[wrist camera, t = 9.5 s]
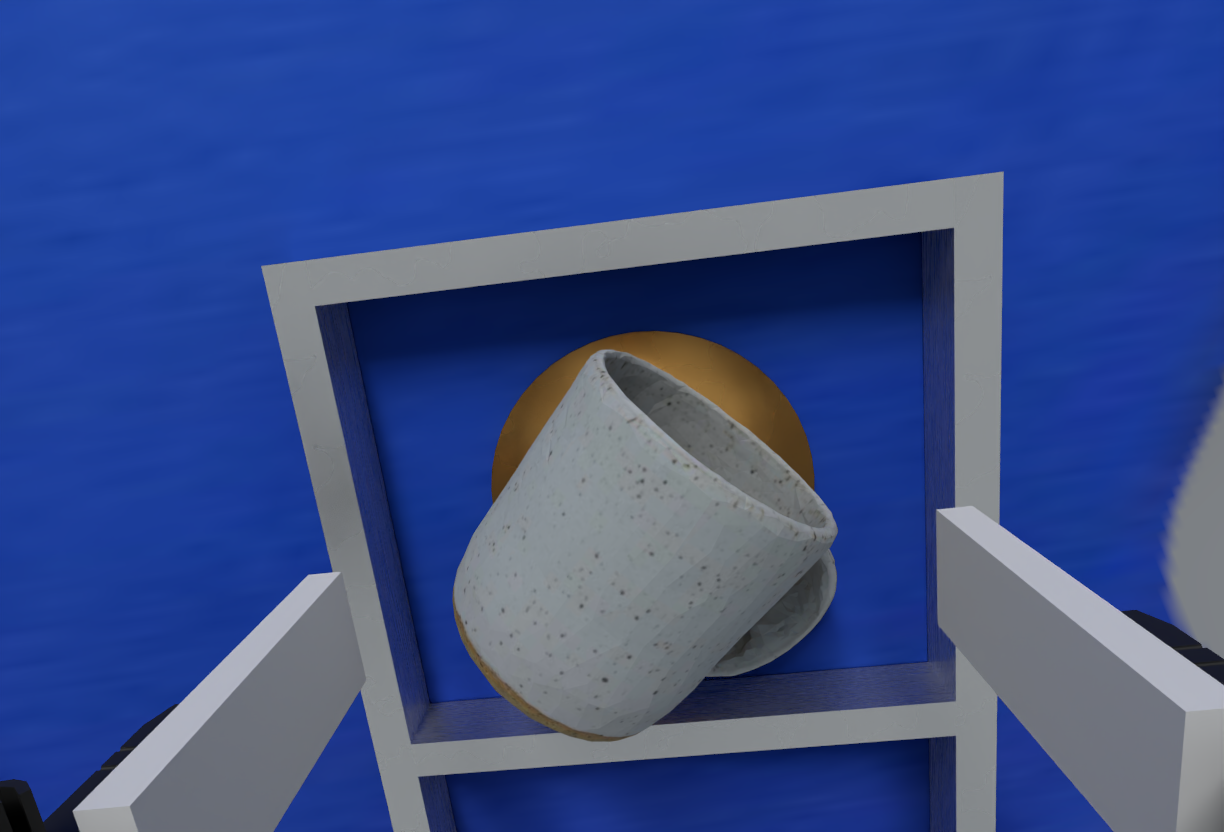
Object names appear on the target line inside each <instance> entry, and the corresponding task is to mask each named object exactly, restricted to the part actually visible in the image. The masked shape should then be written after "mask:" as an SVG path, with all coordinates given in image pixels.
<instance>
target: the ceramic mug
mask: <svg viewBox="0 0 1224 832" xmlns="http://www.w3.org/2000/svg"><path fill="white" fill-rule="evenodd" d="M837 533H838V528H837V525H836V523H835V521H834V518H833V516H832V513H831V511H830V510H829V509H828V508H827V506H826V505H825V504H824V502H823V501H822V500H821V499H820V497H819V496H818V495H817V494H816V493H815V492H814V491H813V490H812V489H811V488H810V486H809V485H808V484H807V483H806V482H805V481H804V480H803V479H802V478H801V477H800V475H799V474H798V473H796V472H795V471H794V470H793V469H792V468H791V467H790V466H789V465H788V464H787V463H786V462H785V461H784V460H783V459H782V458H781V457H780V456H779V455H777V454H776V453H775V452H774V451H772V450H771V449H770V448H769V447H768V446H767V445H766V444H765V443H764V442H763V441H761V440H760V439H759V438H758V437H757V436H756V435H754V434H753V433H752V432H751V431H750V430H749V429H747V428H746V427H744V426H743V425H741V424H740V423H738V422H737V421H736V420H734V419H733V418H732V417H730V416H729V415H728V414H726V413H725V412H724V411H723V410H722V409H721V408H720V407H718V406H717V405H716V404H714V403H713V402H711V401H710V400H708V399H707V398H705V397H704V396H702V395H701V394H699V393H698V392H696V391H695V390H693V389H692V388H690V387H689V386H688V385H686V384H685V383H684V382H682V381H680V380H678V379H676V378H674V377H673V376H672V375H671V374H669V373H667V372H665V371H663V370H661V369H659V368H657V367H655V366H654V365H652V364H650V363H648V362H647V361H645V360H642V359H640V358H637V357H635V356H633V355H631V354H629V353H627V352H619V351H615V350H610V349H607V350H600V351H598V352H596V353H595V354H593V355H592V356H590V358H589V359H588V361H587V362H586V363H585V365H584V366H583V368H582V369H581V371H580V372H579V374H578V375H577V377H576V379H575V380H574V382H573V384H572V386H571V387H570V389H569V390H568V392H567V393H566V395H565V396H564V398H563V399H562V401H561V402H560V404H559V405H558V406H557V408H556V409H555V411H554V412H553V414H552V415H551V417H550V418H549V420H548V421H547V423H546V424H545V426H544V427H543V429H542V430H541V432H540V433H539V435H538V437H537V438H536V440H535V441H534V443H533V444H532V446H531V447H530V449H529V450H528V452H527V453H526V455H525V457H524V458H523V460H522V461H521V463H520V465H519V466H518V468H517V470H516V471H515V473H514V474H513V476H512V477H511V479H510V480H509V482H508V483H507V485H506V486H505V488H504V489H503V491H502V492H501V494H500V495H499V497H498V498H497V500H496V501H495V502H494V504H493V505H492V507H491V508H490V510H489V511H488V513H487V514H486V516H485V517H484V519H483V520H482V522H481V523H480V525H479V526H478V528H477V529H476V531H475V532H474V534H473V536H472V538H471V541H470V543H469V545H468V548H467V550H466V552H465V555H464V557H463V559H462V561H461V563H460V565H459V567H458V570H457V574H456V579H455V583H454V587H453V607H454V615H455V621H456V624H457V627H458V630H459V633H460V636H461V639H462V641H463V643H464V645H465V647H466V649H467V651H468V653H469V655H470V657H471V658H472V660H473V661H474V662H475V664H476V665H477V666H478V668H479V669H480V670H481V672H482V673H483V674H484V676H485V677H486V678H487V680H488V681H489V682H490V684H491V685H492V686H493V688H494V689H495V690H496V691H497V692H498V693H499V694H500V695H501V696H503V697H504V698H505V699H506V700H507V701H509V702H510V703H511V704H512V705H513V706H515V707H516V708H517V709H519V710H520V711H521V712H523V713H524V714H525V715H527V716H528V717H529V718H531V719H533V720H535V721H537V722H539V723H541V724H543V725H545V726H547V727H549V728H551V729H553V730H555V731H557V732H560V733H562V734H565V735H567V736H570V737H574V738H578V739H582V740H586V741H591V742H612V741H618V740H622V739H625V738H628V737H631V736H634V735H636V734H638V733H640V732H641V731H643V730H645V729H646V728H648V727H650V726H651V725H652V724H654V723H655V722H657V721H658V720H659V719H661V718H662V717H664V716H665V715H666V714H668V713H669V712H671V711H672V710H673V709H674V708H675V707H676V706H677V705H678V704H679V703H680V702H681V701H682V700H683V699H684V698H686V697H687V696H688V695H689V694H690V693H691V692H692V691H693V690H694V689H695V688H696V687H697V686H698V684H699V683H700V682H701V681H702V680H703V679H704V678H705V676H706V677H717V676H735V675H738V674H741V673H744V672H748V671H751V670H754V669H756V668H758V667H760V666H763V665H765V664H767V663H769V662H771V661H773V660H774V659H776V658H777V657H779V656H781V655H782V654H784V653H785V652H787V651H788V650H790V649H791V648H792V647H793V646H794V645H796V644H797V643H798V642H799V641H801V640H802V639H803V638H804V637H805V636H806V635H807V634H808V633H809V632H810V631H811V630H812V629H813V628H814V627H815V626H816V625H817V623H818V622H819V621H820V620H821V618H822V617H823V615H824V614H825V612H826V611H827V609H828V607H829V605H830V604H831V601H832V599H833V597H834V594H835V591H836V582H837V572H836V568H835V560H834V558H833V556H832V554H831V551H830V549H829V548H830V547H831V545H832V543H833V541H834V539H835V537H836V535H837Z"/></svg>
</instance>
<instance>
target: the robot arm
mask: <svg viewBox="0 0 1224 832" xmlns="http://www.w3.org/2000/svg"><path fill="white" fill-rule="evenodd" d="M936 538H937V618H938V626H939V627H940V628H941V629H942V630H943V632H944V633H945V634H946V635H947V636H948V637H949V639H950V640H951V641H952V642H953V643H954V644H955V646H956V647H957V648H958V649H959V650H960V652H961V653H962V654H963V655H964V656H965V657H966V659H967V660H968V661H969V662H970V663H971V664H972V666H973V667H974V668H975V669H976V670H977V671H978V673H979V674H980V675H981V676H982V677H983V679H984V680H985V681H986V682H987V683H988V684H989V686H990V687H991V688H992V689H993V690H994V691H995V693H996V694H997V695H998V696H999V697H1000V698H1001V700H1002V701H1003V702H1004V703H1005V704H1006V706H1007V707H1008V708H1009V709H1010V710H1011V711H1012V713H1013V714H1014V715H1015V716H1016V717H1017V718H1018V720H1019V721H1020V722H1021V723H1022V724H1023V726H1024V727H1025V728H1026V729H1027V730H1028V731H1029V733H1030V734H1031V735H1032V736H1033V737H1034V738H1035V740H1036V741H1037V742H1038V743H1039V744H1040V745H1041V747H1042V748H1043V749H1044V750H1045V751H1046V753H1047V754H1048V755H1049V756H1050V757H1051V758H1052V760H1053V761H1054V762H1055V763H1056V764H1057V765H1058V767H1059V768H1060V769H1061V770H1062V771H1063V772H1064V774H1065V775H1066V776H1067V777H1068V778H1069V780H1070V781H1071V782H1072V783H1073V784H1074V785H1075V787H1076V788H1077V789H1078V790H1079V791H1080V792H1081V794H1082V795H1083V796H1084V797H1085V798H1086V799H1087V801H1088V802H1089V803H1090V804H1091V805H1092V807H1093V808H1094V809H1095V810H1096V811H1097V812H1098V814H1099V815H1100V816H1101V817H1102V818H1103V819H1104V821H1105V822H1106V823H1107V824H1108V825H1109V826H1110V828H1111V829H1112V830H1113V831H1114V832H1224V659H1223V658H1221V657H1220V656H1218V655H1217V654H1215V653H1214V652H1212V651H1211V650H1209V649H1208V648H1202V646H1201V644H1200V643H1199V642H1197V641H1196V640H1194V639H1193V638H1191V637H1190V636H1188V635H1187V634H1186V633H1184V632H1183V631H1181V630H1180V629H1178V628H1177V627H1175V626H1174V625H1172V624H1169V623H1167V622H1164V621H1162V620H1159V619H1157V618H1154V617H1152V616H1150V615H1147V614H1145V613H1142V612H1140V611H1137V610H1130V611H1119V610H1118V609H1116V608H1115V607H1113V606H1112V605H1111V604H1109V603H1108V602H1106V601H1105V600H1104V599H1102V598H1101V597H1099V596H1098V595H1097V594H1095V593H1094V592H1092V591H1091V590H1090V589H1088V588H1087V587H1085V586H1084V585H1083V584H1081V583H1080V582H1078V581H1077V580H1076V579H1074V578H1073V577H1071V576H1070V575H1069V574H1067V573H1066V572H1064V571H1063V570H1062V569H1060V568H1059V567H1057V566H1056V565H1055V564H1053V563H1052V562H1050V561H1049V560H1048V559H1046V558H1045V557H1043V556H1042V555H1041V554H1039V553H1038V552H1036V551H1035V550H1034V549H1032V548H1031V547H1029V546H1028V545H1027V544H1025V543H1024V542H1022V541H1021V540H1020V539H1018V538H1017V537H1015V536H1014V535H1013V534H1011V533H1010V532H1008V531H1007V530H1006V529H1004V528H1003V527H1001V526H1000V525H999V524H997V523H996V522H994V521H993V520H992V519H990V518H989V517H987V516H986V515H985V514H983V513H982V512H980V511H979V510H978V509H976V508H975V507H973V506H965V507H956V508H946V509H937V510H936ZM365 681H366V676H365V671H364V667H363V663H362V658H361V654H360V650H359V645H358V641H357V637H356V632H355V628H354V623H353V619H352V615H351V610H350V606H349V602H348V597H347V593H346V588H345V584H344V580H343V575H342V572H333V573H323V574H313V575H308V576H307V577H306V578H305V579H304V580H303V581H302V582H301V583H300V584H299V585H298V586H297V587H296V588H295V589H294V590H293V591H292V592H291V593H290V594H289V595H288V596H287V597H286V598H285V599H284V600H283V601H282V602H281V603H280V604H279V605H278V606H277V607H276V608H275V609H274V610H273V611H272V612H271V613H270V614H269V615H268V616H267V617H266V618H265V619H264V620H263V621H262V622H261V623H260V624H259V625H258V626H257V627H256V628H255V629H254V630H253V631H252V632H251V633H250V634H249V635H248V636H247V637H246V638H245V639H244V640H243V641H242V642H241V643H240V644H239V645H238V646H237V647H236V648H235V649H234V650H233V651H232V652H231V653H230V654H229V655H228V656H227V657H226V658H225V659H224V660H223V661H222V662H221V663H220V664H219V665H218V666H217V667H216V668H215V669H214V670H213V671H212V672H211V673H210V674H209V675H208V676H207V677H206V678H205V679H204V680H203V681H202V682H201V683H200V684H199V685H198V686H197V687H196V688H195V689H194V690H193V691H192V692H191V693H190V694H189V695H188V696H187V697H186V698H185V699H184V700H183V701H182V702H181V703H180V704H175V705H173V706H172V707H170V708H169V709H167V710H166V711H164V712H163V713H161V714H160V715H158V716H157V717H155V718H154V719H152V720H151V721H149V722H147V723H146V724H144V725H143V726H142V727H141V728H140V729H139V730H138V731H137V732H136V733H135V734H134V735H133V736H132V737H131V738H130V739H129V740H128V741H127V742H126V743H125V744H124V745H123V746H122V747H121V750H120V752H115V753H114V754H113V755H112V756H111V757H110V758H109V759H108V760H107V761H106V762H105V763H104V764H103V765H102V766H101V770H100V771H96V772H95V773H94V774H93V775H92V776H91V777H90V778H89V779H88V780H87V781H85V782H84V783H83V784H82V785H81V786H80V787H79V788H78V789H77V790H76V791H75V792H74V793H73V794H72V795H71V796H70V797H69V798H68V799H67V800H66V801H65V802H64V803H63V804H62V805H61V806H60V807H59V808H58V809H57V810H56V811H55V812H54V813H52V814H51V815H50V816H49V817H48V818H47V819H46V820H45V821H44V822H43V821H42V818H41V816H40V813H39V810H38V808H37V805H36V802H35V800H34V797H33V794H32V791H31V789H30V787H29V785H28V783H27V782H26V781H21V780H15V779H12V780H6V781H0V832H273V831H274V830H275V828H276V826H277V825H278V823H279V821H280V820H281V818H282V817H283V815H284V813H285V812H286V810H287V808H288V807H289V805H290V804H291V802H292V800H293V799H294V797H295V795H296V794H297V792H298V790H299V789H300V787H301V786H302V784H303V782H304V781H305V779H306V777H307V776H308V774H309V773H310V771H311V769H312V768H313V766H314V764H315V763H316V761H317V760H318V758H319V756H320V755H321V753H322V751H323V750H324V748H325V746H326V745H327V743H328V742H329V740H330V738H331V737H332V735H333V733H334V732H335V730H336V729H337V727H338V725H339V724H340V722H341V720H342V719H343V717H344V716H345V714H346V712H347V711H348V709H349V707H350V706H351V704H352V702H353V701H354V699H355V698H356V696H357V694H358V693H359V691H360V689H361V688H362V686H363V685H364V683H365Z"/></svg>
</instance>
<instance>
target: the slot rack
mask: <svg viewBox="0 0 1224 832" xmlns="http://www.w3.org/2000/svg"><path fill="white" fill-rule="evenodd" d="M914 232H922V283H923V352H924V421H925V490H926V559H927V628H928V662H923V663H911V664H899V665H887V666H875V667H863V668H851V669H839V670H827V671H815V672H803V673H791V674H779V675H767V676H755V677H743V678H731V679H719V680H707V681H701V682H700V683H699V684H698V686H697V687H696V688H695V689H694V690H693V691H692V692H691V693H690V694H689V695H688V696H687V697H686V698H684V699H683V700H682V701H681V702H680V703H679V704H678V705H677V706H676V707H675V708H674V709H673V710H672V711H671V712H669V713H668V714H666V715H665V716H664V717H662V718H661V719H659V720H658V721H657V722H655V723H654V724H652V725H651V726H650V727H648V728H646V729H645V730H643V731H641V732H640V733H638V734H636V735H634V736H631V737H628V738H625V739H622V740H618V741H612V742H591V741H586V740H582V739H578V738H574V737H570V736H567V735H565V734H562V733H560V732H557V731H555V730H553V729H551V728H549V727H547V726H545V725H543V724H541V723H539V722H537V721H535V720H533V719H531V718H529V717H528V716H527V715H525V714H524V713H523V712H521V711H520V710H519V709H517V708H516V707H515V706H513V705H512V704H511V703H510V702H509V701H507V700H506V699H505V698H504V697H502V698H490V699H478V700H466V701H454V702H442V703H430V702H429V697H428V692H427V687H426V683H425V678H424V673H423V668H422V663H421V659H420V654H419V649H418V644H417V639H416V635H415V630H414V625H413V620H412V615H411V611H410V606H409V601H408V596H407V592H406V587H405V582H404V577H403V572H402V568H401V563H400V558H399V553H398V548H397V544H396V539H395V534H394V529H393V524H392V520H391V515H390V510H389V505H388V500H387V496H386V491H385V486H384V481H383V477H382V472H381V467H380V462H379V457H378V453H377V448H376V443H375V438H374V433H373V429H372V424H371V419H370V414H369V409H368V405H367V400H366V395H365V390H364V386H363V381H362V376H361V371H360V366H359V362H358V357H357V352H356V347H355V342H354V338H353V333H352V328H351V323H350V318H349V314H348V309H347V304H346V302H352V301H360V300H368V299H377V298H385V297H393V296H401V295H409V294H417V293H425V292H434V291H442V290H450V289H458V288H466V287H474V286H482V285H491V284H499V283H507V282H515V281H523V280H531V279H540V278H548V277H556V276H564V275H572V274H580V273H588V272H597V271H605V270H613V269H621V268H629V267H637V266H645V265H654V264H662V263H670V262H678V261H686V260H694V259H702V258H711V257H719V256H727V255H735V254H743V253H751V252H760V251H768V250H776V249H784V248H792V247H800V246H808V245H817V244H825V243H833V242H841V241H849V240H857V239H865V238H874V237H882V236H890V235H898V234H906V233H914ZM1002 248H1003V172H997V173H990V174H982V175H974V176H966V177H958V178H950V179H942V180H935V181H927V182H919V183H911V184H903V185H895V186H887V187H880V188H872V189H864V190H856V191H848V192H840V193H832V194H825V195H817V196H809V197H801V198H793V199H785V200H777V201H770V202H762V203H754V204H746V205H738V206H730V207H722V208H715V209H707V210H699V211H691V212H683V213H675V214H667V215H660V216H652V217H644V218H636V219H628V220H620V221H612V222H605V223H597V224H589V225H581V226H573V227H565V228H557V229H550V230H542V231H534V232H526V233H518V234H510V235H502V236H495V237H487V238H479V239H471V240H463V241H455V242H447V243H440V244H432V245H424V246H416V247H408V248H400V249H392V250H385V251H377V252H369V253H361V254H353V255H345V256H337V257H330V258H322V259H314V260H306V261H298V262H290V263H282V264H275V265H267V266H261V267H262V272H263V276H264V280H265V284H266V289H267V293H268V297H269V301H270V306H271V310H272V314H273V318H274V323H275V327H276V331H277V336H278V340H279V344H280V348H281V353H282V357H283V361H284V365H285V370H286V374H287V378H288V382H289V387H290V391H291V395H292V399H293V404H294V408H295V412H296V417H297V421H298V425H299V429H300V434H301V438H302V442H303V446H304V451H305V455H306V459H307V463H308V468H309V472H310V476H311V481H312V485H313V489H314V493H315V498H316V502H317V506H318V510H319V515H320V519H321V523H322V527H323V532H324V536H325V540H326V544H327V549H328V553H329V557H330V562H331V566H332V570H333V572H342V575H343V580H344V584H345V588H346V593H347V597H348V602H349V606H350V610H351V615H352V619H353V623H354V628H355V632H356V637H357V641H358V645H359V650H360V654H361V658H362V663H363V667H364V671H365V676H366V681H365V683H364V685H363V686H362V688H361V694H362V698H363V702H364V707H365V711H366V715H367V719H368V724H369V728H370V732H371V736H372V741H373V745H374V749H375V753H376V758H377V762H378V766H379V771H380V775H381V779H382V783H383V788H384V792H385V796H386V800H387V805H388V809H389V813H390V817H391V822H392V826H393V830H394V832H457V831H456V826H455V821H454V817H453V812H452V807H451V802H450V797H449V793H448V788H447V783H446V778H445V775H446V774H459V773H472V772H485V771H499V770H512V769H525V768H538V767H551V766H564V765H577V764H591V763H604V762H617V761H630V760H643V759H656V758H669V757H682V756H696V755H709V754H722V753H735V752H748V751H761V750H774V749H788V748H801V747H814V746H827V745H840V744H853V743H866V742H880V741H893V740H906V739H919V738H929V766H930V832H995V825H996V742H997V694H996V693H995V691H994V690H993V689H992V688H991V687H990V686H989V684H988V683H987V682H986V681H985V680H984V679H983V677H982V676H981V675H980V674H979V673H978V671H977V670H976V669H975V668H974V667H973V666H972V664H971V663H970V662H969V661H968V660H967V659H966V657H965V656H964V655H963V654H962V653H961V652H960V650H959V649H958V648H957V647H956V646H955V644H954V643H953V642H952V641H951V640H950V639H949V637H948V636H947V635H946V634H945V633H944V632H943V630H942V629H941V628H940V627H939V626H938V618H937V538H936V510H937V509H946V508H956V507H965V506H973V507H975V508H976V509H978V510H979V511H980V512H982V513H983V514H985V515H986V516H987V517H989V518H990V519H992V520H993V521H994V522H996V523H997V524H999V495H1000V413H1001V330H1002ZM607 349H610V350H615V351H619V352H627V353H629V354H631V355H633V356H635V357H637V358H640V359H642V360H645V361H647V362H648V363H650V364H652V365H654V366H655V367H657V368H659V369H661V370H663V371H665V372H667V373H669V374H671V375H672V376H673V377H674V378H676V379H678V380H680V381H682V382H684V383H685V384H686V385H688V386H689V387H690V388H692V389H693V390H695V391H696V392H698V393H699V394H701V395H702V396H704V397H705V398H707V399H708V400H710V401H711V402H713V403H714V404H716V405H717V406H718V407H720V408H721V409H722V410H723V411H724V412H725V413H726V414H728V415H729V416H730V417H732V418H733V419H734V420H736V421H737V422H738V423H740V424H741V425H743V426H744V427H746V428H747V429H749V430H750V431H751V432H752V433H753V434H754V435H756V436H757V437H758V438H759V439H760V440H761V441H763V442H764V443H765V444H766V445H767V446H768V447H769V448H770V449H771V450H772V451H774V452H775V453H776V454H777V455H779V456H780V457H781V458H782V459H783V460H784V461H785V462H786V463H787V464H788V465H789V466H790V467H791V468H792V469H793V470H794V471H795V472H796V473H798V474H799V475H800V477H801V478H802V479H803V480H804V481H805V482H806V483H807V484H808V485H809V486H810V488H811V489H812V490H813V491H814V470H813V462H812V455H811V452H810V448H809V444H808V440H807V437H806V434H805V432H804V430H803V427H802V425H801V423H800V420H799V418H798V416H797V414H796V413H795V411H794V409H793V408H792V406H791V405H790V403H789V401H788V400H787V398H786V397H785V396H784V395H783V393H782V392H781V391H780V390H779V388H778V387H777V386H776V385H775V384H774V382H773V381H771V380H770V379H769V378H768V377H767V376H766V375H765V374H764V373H763V372H762V371H761V370H760V369H759V368H757V367H756V366H755V365H753V364H752V363H751V362H749V361H748V360H746V359H745V358H743V357H742V356H741V355H739V354H737V353H735V352H733V351H731V350H729V349H728V348H726V347H724V346H722V345H720V344H717V343H714V342H711V341H709V340H706V339H703V338H700V337H696V336H692V335H687V334H682V333H678V332H666V331H639V332H629V333H624V334H618V335H613V336H609V337H606V338H603V339H600V340H597V341H594V342H591V343H589V344H587V345H585V346H582V347H580V348H578V349H576V350H574V351H572V352H570V353H569V354H567V355H566V356H564V357H563V358H561V359H559V360H558V361H556V362H555V363H553V364H552V365H551V366H550V367H549V368H548V369H546V370H545V371H544V372H543V373H542V374H541V375H539V376H538V377H537V378H536V379H535V380H534V382H533V383H532V384H531V385H530V386H529V387H528V388H527V390H526V391H525V392H524V393H523V394H522V396H521V397H520V399H519V400H518V402H517V403H516V405H515V406H514V408H513V409H512V411H511V412H510V414H509V416H508V418H507V421H506V423H505V425H504V427H503V429H502V431H501V434H500V437H499V441H498V444H497V447H496V450H495V456H494V462H493V467H492V488H491V489H492V499H493V504H494V502H495V501H496V500H497V498H498V497H499V495H500V494H501V492H502V491H503V489H504V488H505V486H506V485H507V483H508V482H509V480H510V479H511V477H512V476H513V474H514V473H515V471H516V470H517V468H518V466H519V465H520V463H521V461H522V460H523V458H524V457H525V455H526V453H527V452H528V450H529V449H530V447H531V446H532V444H533V443H534V441H535V440H536V438H537V437H538V435H539V433H540V432H541V430H542V429H543V427H544V426H545V424H546V423H547V421H548V420H549V418H550V417H551V415H552V414H553V412H554V411H555V409H556V408H557V406H558V405H559V404H560V402H561V401H562V399H563V398H564V396H565V395H566V393H567V392H568V390H569V389H570V387H571V386H572V384H573V382H574V380H575V379H576V377H577V375H578V374H579V372H580V371H581V369H582V368H583V366H584V365H585V363H586V362H587V361H588V359H589V358H590V356H592V355H593V354H595V353H596V352H598V351H600V350H607Z"/></svg>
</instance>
